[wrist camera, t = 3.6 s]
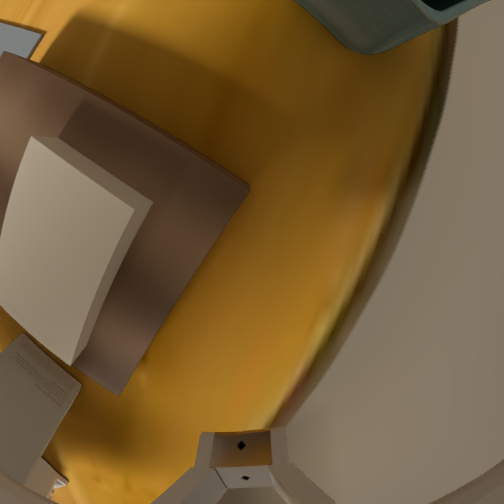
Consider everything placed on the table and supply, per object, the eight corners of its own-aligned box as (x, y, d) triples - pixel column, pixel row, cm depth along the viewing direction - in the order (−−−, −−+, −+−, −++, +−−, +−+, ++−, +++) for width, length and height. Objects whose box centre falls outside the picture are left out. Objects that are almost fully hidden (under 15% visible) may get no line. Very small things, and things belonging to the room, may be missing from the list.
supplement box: (22, 328, 17) (-61, 415, 5) (85, 384, 19) (22, 494, 7) (14, 367, 19) (-47, 441, 7) (66, 413, 20) (19, 500, 8)
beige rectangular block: (86, 345, 13) (70, 366, 11) (13, 283, 12) (-8, 297, 10) (153, 202, 11) (134, 209, 9) (57, 137, 10) (31, 135, 8)
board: (138, 359, 18) (119, 396, 14) (-21, 226, 15) (-52, 238, 11) (249, 185, 15) (249, 190, 11) (38, 62, 12) (3, 50, 8)
